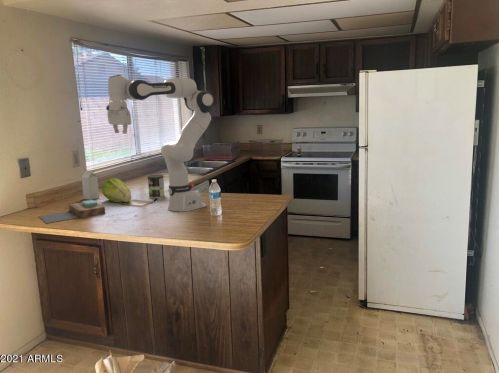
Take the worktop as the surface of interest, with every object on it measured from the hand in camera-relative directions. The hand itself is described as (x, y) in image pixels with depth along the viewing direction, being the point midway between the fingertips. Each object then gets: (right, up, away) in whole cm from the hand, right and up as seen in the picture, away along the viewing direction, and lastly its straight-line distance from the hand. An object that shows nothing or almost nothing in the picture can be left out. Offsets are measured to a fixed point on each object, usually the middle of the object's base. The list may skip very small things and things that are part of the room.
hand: (120, 133), depth 224 cm
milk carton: (-38, -36, +61) cm, 80 cm away
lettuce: (-16, -38, +50) cm, 65 cm away
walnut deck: (-26, -43, +23) cm, 55 cm away
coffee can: (+6, -35, +60) cm, 70 cm away
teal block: (-25, -39, +23) cm, 52 cm away
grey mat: (-39, -45, +13) cm, 61 cm away
